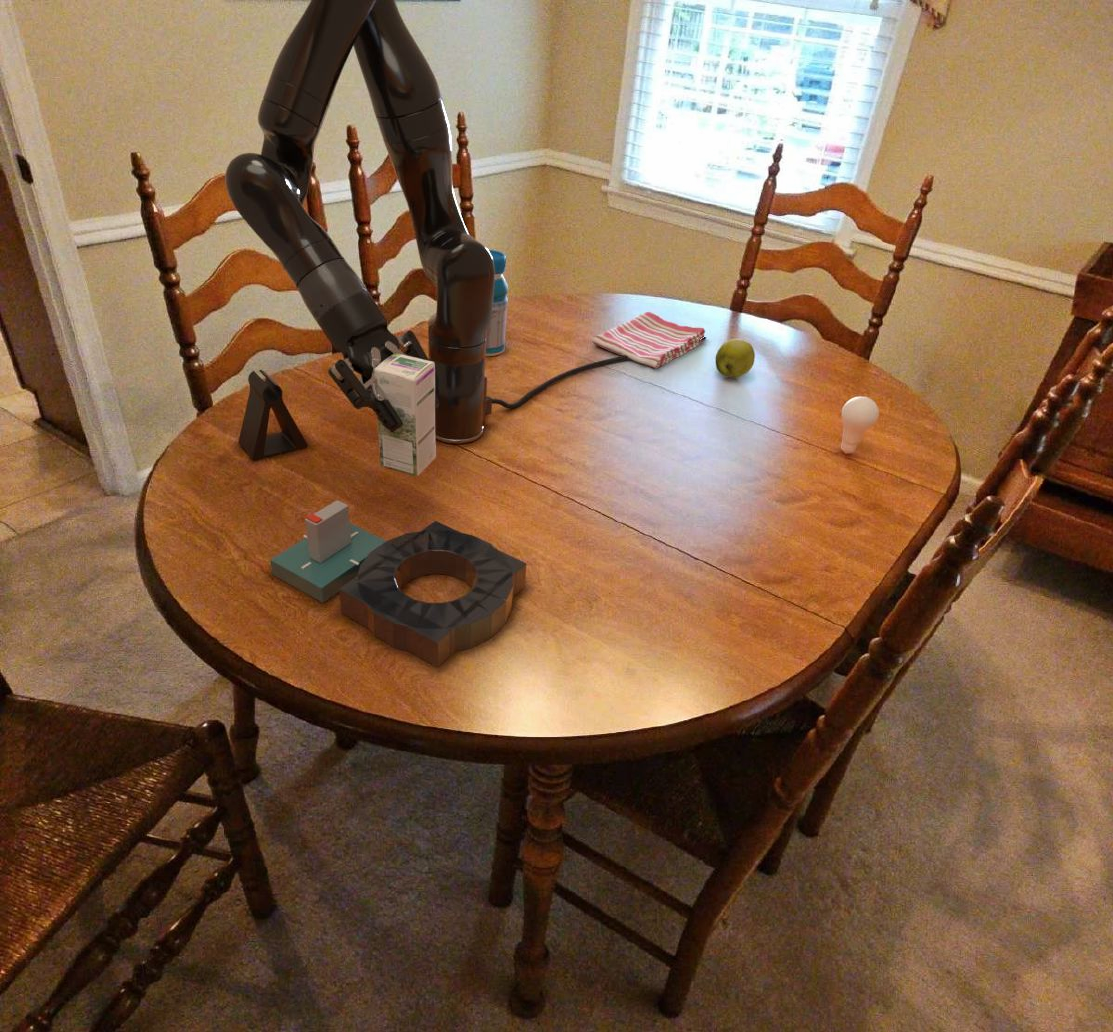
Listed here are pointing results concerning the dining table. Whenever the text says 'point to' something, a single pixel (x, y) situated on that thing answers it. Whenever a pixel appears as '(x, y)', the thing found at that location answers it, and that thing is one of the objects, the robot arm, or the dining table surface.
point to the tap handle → (328, 531)
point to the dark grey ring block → (433, 624)
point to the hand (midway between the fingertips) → (416, 418)
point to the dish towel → (650, 339)
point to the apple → (735, 358)
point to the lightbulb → (857, 421)
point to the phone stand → (257, 421)
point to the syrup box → (408, 413)
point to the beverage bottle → (497, 308)
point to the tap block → (324, 565)
